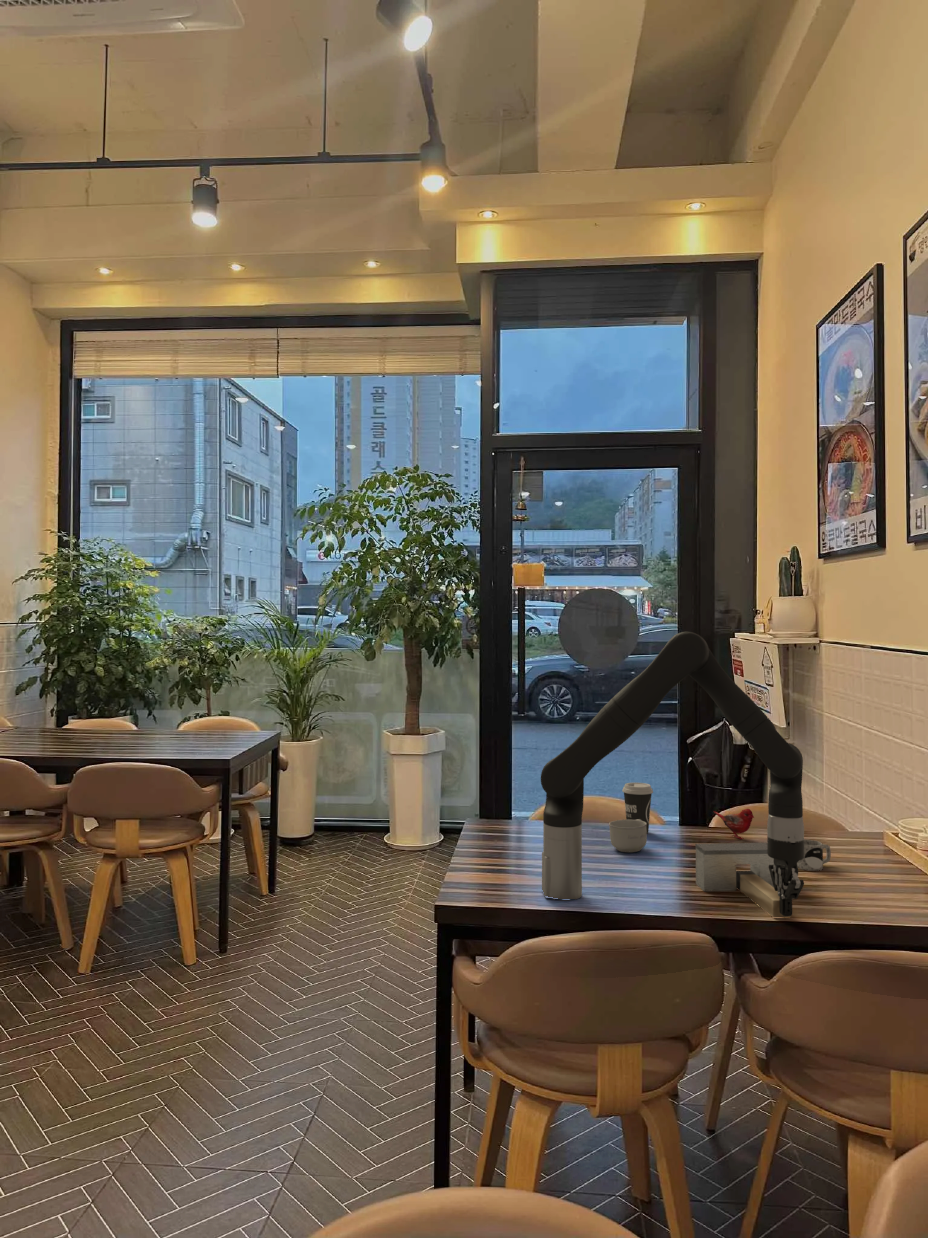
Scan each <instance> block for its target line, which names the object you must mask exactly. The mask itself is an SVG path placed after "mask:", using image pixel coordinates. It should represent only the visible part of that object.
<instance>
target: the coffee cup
mask: <svg viewBox="0 0 928 1238" xmlns="http://www.w3.org/2000/svg"><path fill="white" fill-rule="evenodd" d="M621 791H622V793H623V797H624V798H623V799H624V808H625V809H624V810H625V820H628V819H629V820H636V819H640V820H642V821H644V822H646V823H647V825H646V829H647V835H648V834H649V831H650V830H649V829H650V828H649V827H650V818H651V817H650V815H651V804H652V794H653V793H654V790H653V788H652V786H651V784H649V783H645V782H627V783H626V782H625V784H624V786H623V788H622V790H621Z"/></svg>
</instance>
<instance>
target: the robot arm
mask: <svg viewBox="0 0 928 1238" xmlns="http://www.w3.org/2000/svg"><path fill="white" fill-rule="evenodd" d="M706 641H707V640H705V639H704V637H703V636H701V635H700V634H697V633H695V632H692V631H680V632H678V633H676V634H674V635H673V636H672V637H671V638H670V639H669V640H668V641H667V643H666V644H665V646H664V647H663V648H661V651H660V652H659V653H658V654H657V656H655V658H654V659H653V660H652V662H650V663H649V665H648V666H647V667H646V668H645V669H644V670H642V672H641V673H639V674H638V675H637V676H636V677H635V678H633V679H632V680H631V681H630V682H629V683H627V684H626V685H625V686H623V688H622V689H620V690H619V692H617V693H616V694H615V695H614V696H613V697H612V698H611V699H610V700H609V701H608V702H607V703H606V704H605V705H604V706H603V707H602V708H601V709H600V710H599V711H598V713H596V715H594V717H593V718H592V719H591V721H590V722H589V723H588V724H587V726H585V728H584V729H583V731H582V732H581V733H580V734H579V736H578V737H577V738H576V739H575V740H574V741H573V742H572V743H571V744H570V745H569V746H567V747H566V748H565V749H564V750H563V751H561V752H560V753H559V754H558V755H556V756H555V757H553V758H552V759H551V760H549V761H547V762H546V763H545V764H544V766H543V768H542V770H541V773H540V784H541V788H542V789H543V791H544V792H545V793H546V794H545V796H546V797H545V805H544V810H543V815H542V818H543V819H542V820H543V822H542V825H543V829H542V830H543V832H542V833H543V835H542V836H543V837H542V838H543V840H542V841H543V844H542V847H543V851H542V852H541V891H542V890H543V892H544V894H543V896H544V895H545V896H548V897H553V898H558V899H575V900H578V899H580V898H582V895H583V868H582V867H583V864H582V863H583V862H582V861H583V860H582V858H583V847H582V846H583V845H582V843H583V841H582V840H583V839H582V838H583V833H582V832H583V831H582V830H583V829H582V828H583V827H582V826H583V824H582V823H583V819H582V818H583V812H584V796H585V795H584V792H585V789H584V788H585V787H584V785H585V781H584V779H585V778H586V777H587V775H588V774H589V773H590V772H591V771H592V769H593V768H595V766H596V765H597V764H598V763H599V762H600V761H602V760H603V759H604V758H605V757H607V756H608V755H610V753H613V752H614V751H615V750H616V749H617V748H618V747H619V746H621V745H622V744H623V743H625V742H626V741H627V740H628V739H629V738H631V736H633V735H634V734H635V733H636V732H637V731H638V730H639V729H640V728H641V727H642V726H644V724H645V723H646V722H647V721H648V719H650V717H652V715H653V713H654V712H655V710H656V709H657V708H658V706H659V705H660V704H661V702H662V701H663V700H664V698H665V697H666V696H667V695H668V694H669V692H670V691H672V689H674V687H675V686H677V685H678V684H679V683H680V682H682V681H683V680H684V679H686V678H687V677H688V676H689V677H691V678H692V680H694V681H695V682H696V683H697V684H698V685H699V686H700V687H702V689H703V690H704V691H705V692H706V693H707V694H708V695H709V697H710V698H711V700H713V701H714V703H715V705H716V706H717V707H718V709H719V710H720V711H721V713H722V714H723V716H724V717H725V718H726V719H727V721H728V722H729V723H730V725H732V727H733V728H734V729H735V730H736V731H737V732H738V733H739V735H740V736H741V737H742V738H743V739H744V740H745V741H746V742H747V743H748V744H749V746H751V748H752V749H753V750H754V752H755V753H756V755H757V756H758V757H759V759H760V761H761V762H762V763H763V764H764V766H765V767H766V768H767V769H768V770H769V782H770V783H769V784H770V785H769V786H770V788H769V792H768V797H767V798H768V800H767V801H768V803H767V804H768V806H767V807H768V808H767V809H768V811H767V812H768V817H767V821H766V822H767V823H766V824H767V825H766V827H767V828H766V832H767V833H766V835H767V836H766V837H767V838H766V839H767V840H766V841H767V842H766V843H767V854H768V856H769V857H771V858H773V859H774V864H773V865H769V871H770V875H771V878H772V882H773V886H774V889H775V891H778V896H779V903H780V914H782V915H783V916H791V917H792V916H793V900H794V899H796V900H797V899H799V897H800V894H801V892H802V889H803V888H804V886H805V882H804V881H805V880H803V879H800V878H799V868H798V866H797V862H798V861H800V860H802V859H803V858H804V840H805V824H804V813H803V811H804V809H803V805H804V803H803V794H802V784H803V765H804V764H803V763H804V758H803V754H802V752H801V751H800V749H799V748H798V747H797V746H795V745H794V744H791V743H788V741H787V740H786V739H785V738H784V737H783V736H782V735H781V734H780V733H779V732H778V730H777V728H776V727H775V725H774V723H773V722H772V721H771V719H770V718H769V717H768V716H767V714H765V712H764V711H763V710H762V709H761V708H760V707H759V706H758V705H757V704H756V703H755V702H754V701H753V699H752V698H750V696H749V695H748V694H746V692H744V690H743V689H742V688H741V687H740V686H738V684H737V683H736V682H735V681H734V680H733V679H732V678H731V677H730V676H729V675H728V673H726V671H725V670H724V669H723V667H722V666H721V665H720V663H719V662H718V660H717V659H716V656H714V654H713V652H712V651H711V649H710V648H709V645H708V643H707V642H706ZM543 892H542V893H543ZM545 896H544V897H545Z"/></svg>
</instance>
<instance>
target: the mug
mask: <svg viewBox="0 0 928 1238" xmlns="http://www.w3.org/2000/svg"><path fill="white" fill-rule="evenodd" d="M823 849H825V851H826V854H825V855H826V857H825V858H824V850H823ZM831 852H832V850H831V846H830V845H829V844H824V843H822V842H821V841H818V840H815V839H814V840H812V839H804V858H803V859H802V860H800V861H798V862H797V866H798V870H803V871H807V872H808V871H809V872H820V871H823V870H824V865H825V864H827V863H829V862H830V861H831V855H832V854H831ZM822 869H823V870H822ZM819 870H820V871H819Z"/></svg>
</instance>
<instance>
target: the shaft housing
mask: <svg viewBox="0 0 928 1238" xmlns="http://www.w3.org/2000/svg"><path fill="white" fill-rule="evenodd" d="M773 864H774V859H773V858H771V857H769V856H768V854H767V842H740V843H739V842H738V843H737V842H729V843H728V842H727V843H725V842H724V843H723V842H722V843H721V842H720V843H715V842H714V843H713V842H712V843H695V885H696V886H698V888H700V889H701V890H702V891H703V892H737V888H736V871H737V865H749V866H750V867H749V868H750V869H749V871H752V872H754V873H755V874H756V875H758V876H759V877H760V878H762V879H763V880H764V881H766V882H767V883H768V884H770V885H771V886H772V887H774V886H773V882H772V878H771V875H770V871H769V865H773Z"/></svg>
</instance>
